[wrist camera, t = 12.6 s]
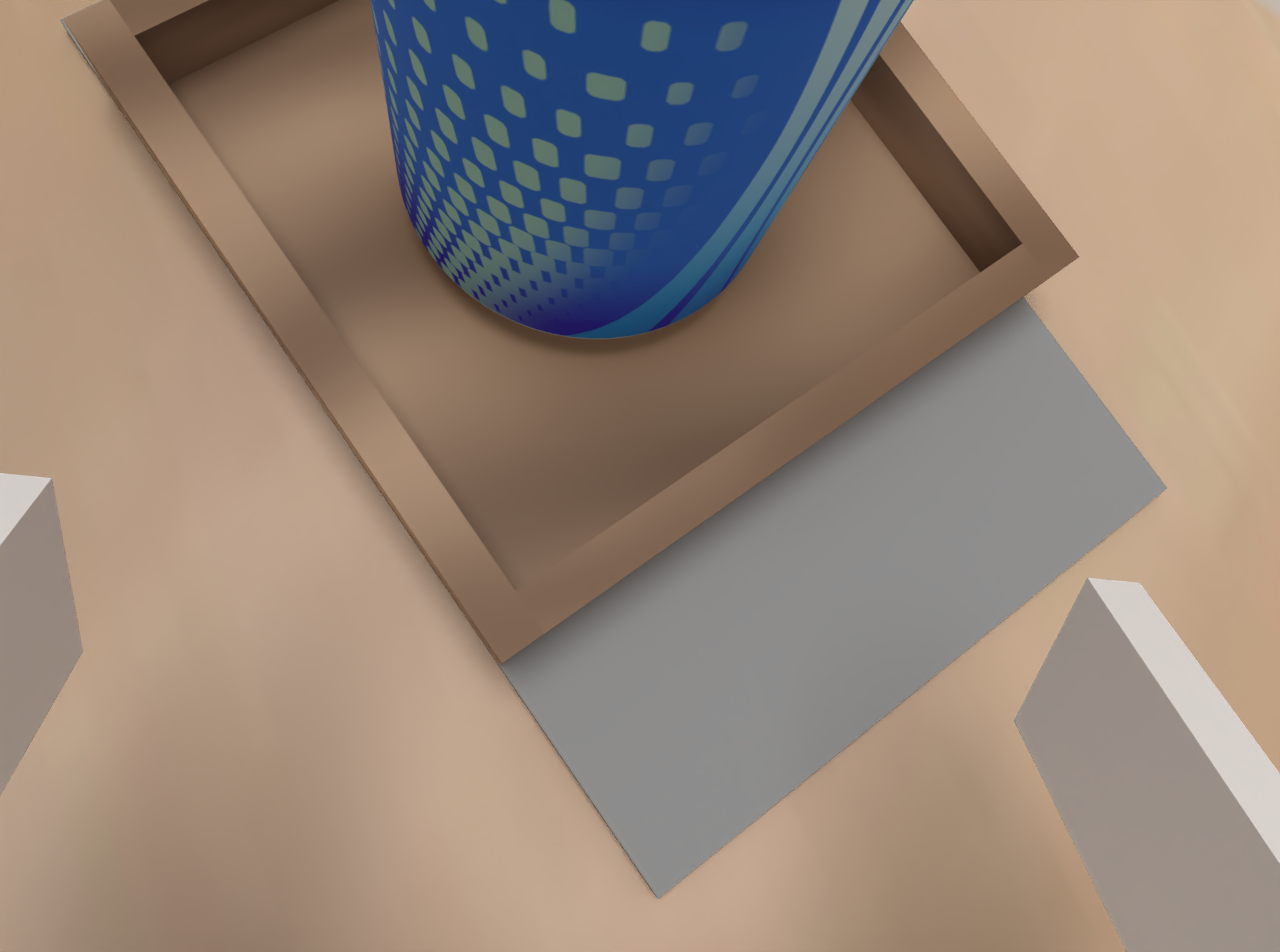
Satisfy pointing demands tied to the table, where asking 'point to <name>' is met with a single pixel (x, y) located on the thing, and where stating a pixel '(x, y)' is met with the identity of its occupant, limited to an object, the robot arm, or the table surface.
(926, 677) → the placemat
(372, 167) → the tray
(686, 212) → the beer can
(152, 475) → the table surface
